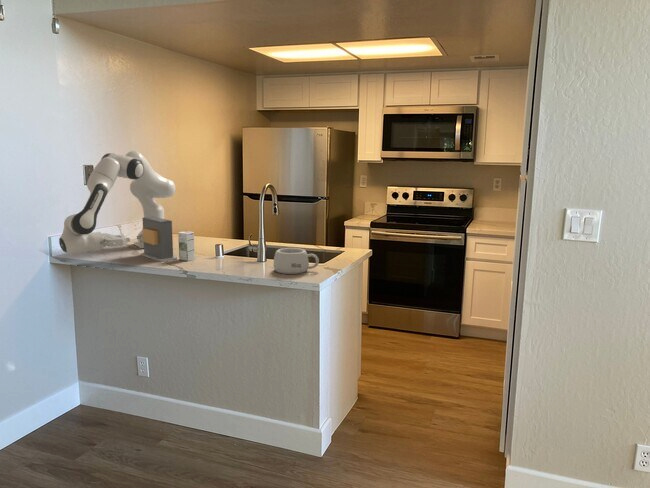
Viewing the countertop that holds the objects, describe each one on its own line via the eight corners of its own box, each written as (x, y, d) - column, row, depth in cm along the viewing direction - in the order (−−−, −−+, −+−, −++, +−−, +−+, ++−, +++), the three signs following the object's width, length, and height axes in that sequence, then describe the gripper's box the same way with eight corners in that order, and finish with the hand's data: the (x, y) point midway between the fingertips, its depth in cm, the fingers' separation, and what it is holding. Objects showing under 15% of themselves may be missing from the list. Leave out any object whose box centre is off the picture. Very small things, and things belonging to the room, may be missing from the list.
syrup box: (195, 259, 271) (194, 231, 268) (187, 261, 266) (186, 233, 263) (186, 258, 273) (185, 230, 271) (178, 260, 268) (177, 232, 266)
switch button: (143, 241, 274) (142, 228, 272) (148, 241, 276) (147, 227, 275) (153, 244, 265) (153, 231, 264) (159, 244, 267) (158, 230, 266)
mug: (271, 275, 241) (271, 253, 239) (275, 266, 257) (275, 246, 255) (318, 275, 241) (318, 254, 239) (318, 267, 257) (319, 247, 256)
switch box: (140, 255, 279) (138, 217, 276) (156, 252, 285) (154, 216, 282) (160, 261, 264) (158, 222, 260) (176, 259, 270) (175, 220, 266)
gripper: (105, 237, 243) (134, 234, 253) (88, 232, 257) (116, 229, 267) (106, 251, 244) (134, 247, 254) (89, 244, 259) (117, 241, 268)
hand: (125, 238), depth 260 cm, fingers open, 8 cm apart
